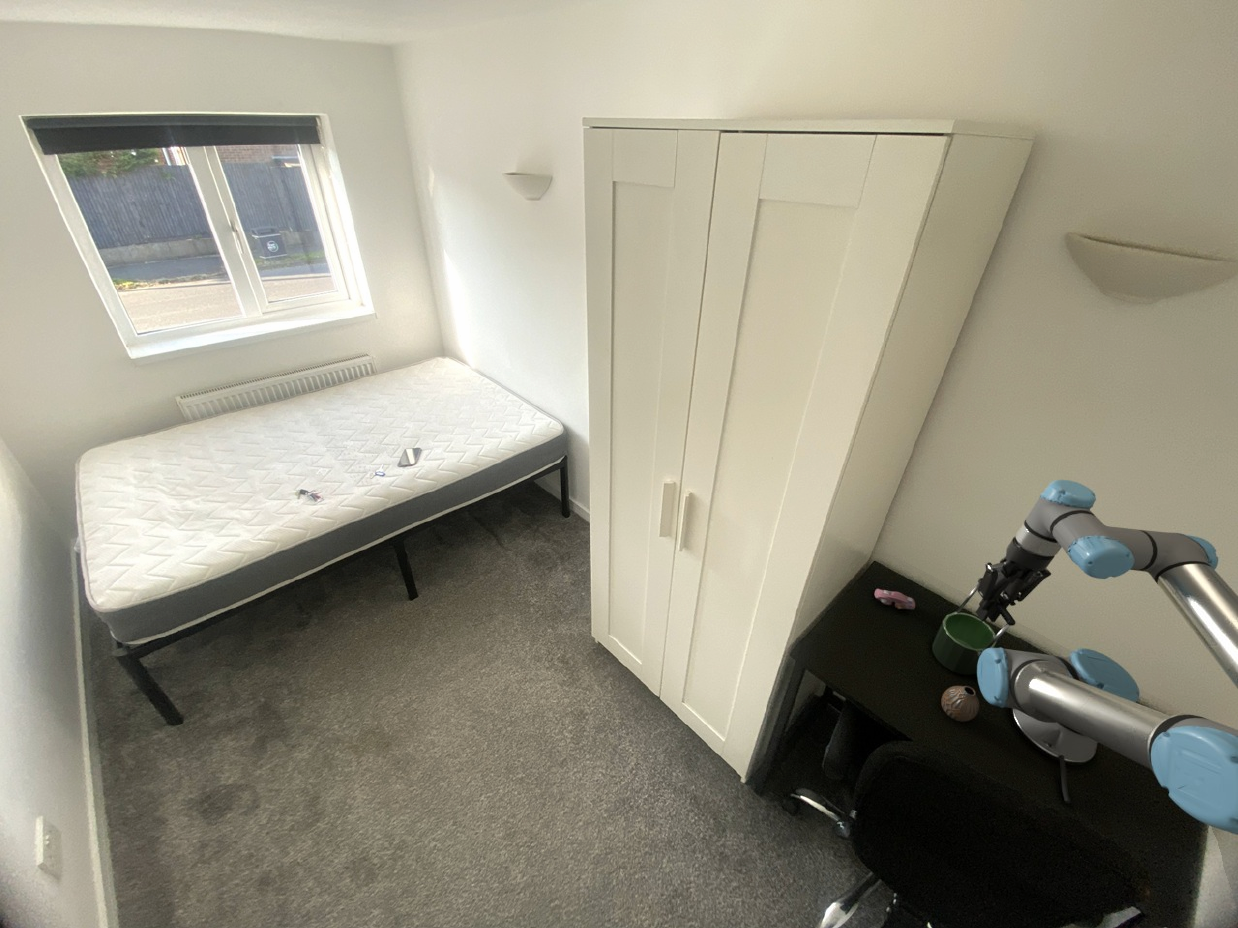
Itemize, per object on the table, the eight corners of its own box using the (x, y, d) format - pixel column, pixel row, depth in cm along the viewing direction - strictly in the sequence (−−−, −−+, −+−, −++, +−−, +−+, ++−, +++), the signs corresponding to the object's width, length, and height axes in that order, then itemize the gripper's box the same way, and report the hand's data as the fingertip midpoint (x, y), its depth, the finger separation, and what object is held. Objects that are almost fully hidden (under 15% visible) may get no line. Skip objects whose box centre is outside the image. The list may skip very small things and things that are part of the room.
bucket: (965, 632, 134) (994, 576, 122) (994, 679, 123) (1028, 622, 111) (922, 633, 135) (946, 577, 122) (947, 679, 124) (976, 622, 111)
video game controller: (871, 604, 144) (878, 597, 138) (873, 589, 146) (881, 582, 140) (909, 615, 141) (918, 609, 135) (911, 600, 143) (920, 593, 137)
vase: (968, 732, 113) (985, 711, 108) (934, 714, 117) (950, 693, 111) (972, 709, 118) (989, 688, 113) (939, 692, 121) (955, 670, 116)
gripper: (1057, 534, 110) (1006, 605, 123) (989, 531, 110) (946, 603, 123) (1082, 559, 103) (1025, 631, 117) (1010, 556, 104) (962, 628, 117)
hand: (985, 616), depth 120 cm, fingers closed on bucket, 2 cm apart
